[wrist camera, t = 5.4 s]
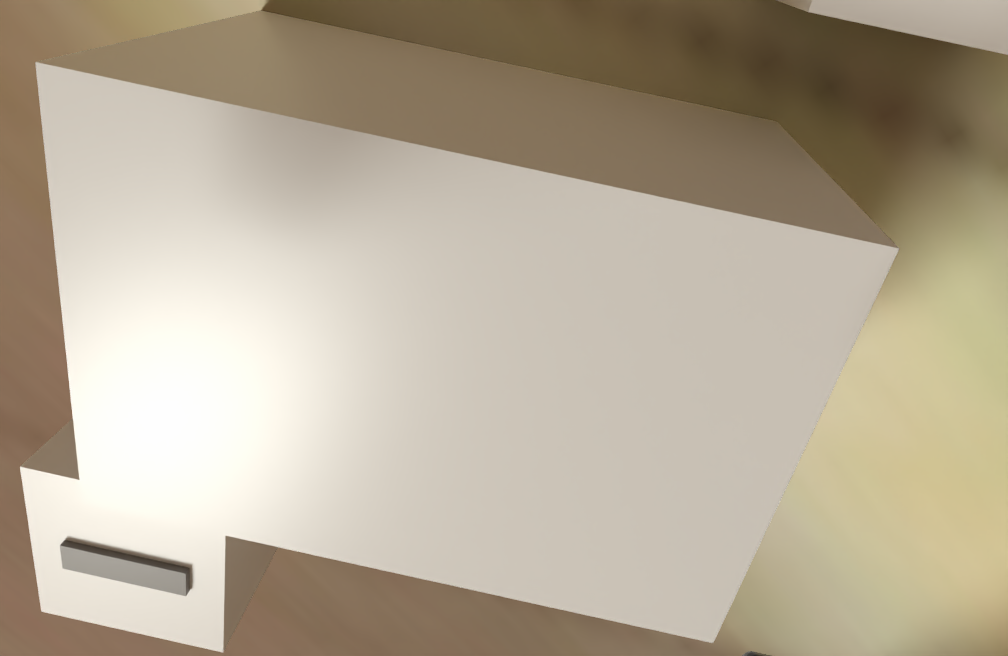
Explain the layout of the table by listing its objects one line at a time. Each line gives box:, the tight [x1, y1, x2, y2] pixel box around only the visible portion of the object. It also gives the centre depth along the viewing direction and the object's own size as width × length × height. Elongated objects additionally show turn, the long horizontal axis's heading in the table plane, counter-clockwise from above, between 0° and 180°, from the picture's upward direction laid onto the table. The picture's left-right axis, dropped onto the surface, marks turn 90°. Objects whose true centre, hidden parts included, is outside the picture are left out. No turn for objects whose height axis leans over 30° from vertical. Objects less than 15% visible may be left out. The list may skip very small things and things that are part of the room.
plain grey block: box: [35, 10, 899, 643], centre depth 16 cm, size 8×12×8 cm, turn 79°
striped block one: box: [20, 418, 278, 652], centre depth 21 cm, size 5×5×5 cm
